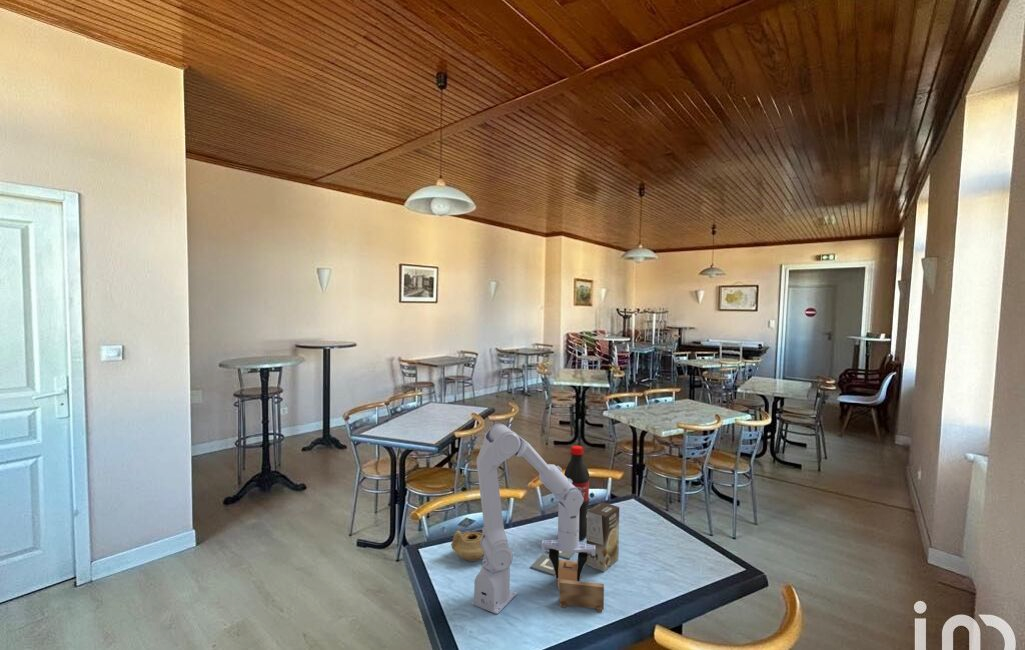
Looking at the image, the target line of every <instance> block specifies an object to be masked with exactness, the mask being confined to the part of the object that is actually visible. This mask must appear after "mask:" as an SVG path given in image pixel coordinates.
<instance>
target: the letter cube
mask: <svg viewBox="0 0 1025 650" xmlns="http://www.w3.org/2000/svg"><path fill="white" fill-rule="evenodd" d="M577 571H578V561H575V560H567V559H566V560H564V559H560V561H559V568H558V579H557V588H558V589H560V579H563V580H573V581H577Z"/></svg>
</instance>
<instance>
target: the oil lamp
mask: <svg viewBox="0 0 1025 650" xmlns="http://www.w3.org/2000/svg"><path fill="white" fill-rule="evenodd" d="M482 535H483V532H480V531H479V532H478V531H467V532H464V533H462V531H460V530H456V531H455V532H454V534H453V538H452V542H451V544H450V545H451V546H450V547H451V549H452V550H453V551H454V553H455V554H456V555H457V556H459V557H460V558H462V559H463V560H464V561H467V562H477V561H480V560H481V559H483V557H484V551H483V550H482V549H481V545H480V542H481V538H482Z"/></svg>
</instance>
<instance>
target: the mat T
mask: <svg viewBox="0 0 1025 650" xmlns="http://www.w3.org/2000/svg"><path fill="white" fill-rule="evenodd" d="M544 552H545V553H546V554H549V550H545V551H544ZM575 554H576V553H566V552H562V551H559V558H563V559H566V560H568V561H571V558H572V557H573V556H574V555H575Z"/></svg>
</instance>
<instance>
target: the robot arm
mask: <svg viewBox="0 0 1025 650" xmlns="http://www.w3.org/2000/svg"><path fill="white" fill-rule="evenodd" d="M513 456H515V457H519V458H520V457H523V458H524V459H525V460H526V461H527V462H528V463H529V464H530V465H531V466H532V467H533V468H534V469H535V470H536V471H537V472H538V475H539V477H538V478H539V481H540V482H541V484H543V486H545V488H547V490H548V491H550V493H552V494H553V496H555V497H554V498H555V499H557V501H558V502H557V503H558V505H557V507H558V508H557V509H558V511H557V512H558V513H557V515H558V516H557V539H549V540H546V539H545V540H544V539H543V540H542V541H541V551H544V552H545V551H546V550H549V553H548V556H549V558H550V560H551V562H552V564H553V566H554V570H555V574H556V576H555V579H556V580H558V568H559V559H560V557H559V551H562V552H566V553H575V554H577V562H578V571H577V581H580V580H581V579H580V578H581V575H582V571H583V569H584V567H585V565H586V561H587V554H591V555H592V556H595V545H590V544H586V543H585V542H583V541H580V540H579V510H580V507H581V505H582V503H583V500H584V498H583V497H582V495H581V494H582V493H581V491H580V490H579V489H578V488H576V487H575V486H574V485H573V484H572V482H573V481H572V480H571V479H570V478H567V477H566V476H565V475H564V473H563V472H562V471H563V469H562V468H561V466H559V465H557V466H556V464H554V463H552V464H551V463H547V462H546V461H545V460H544V459H543V458H542V456H541V455H539V453H538V451H536V450H535V449H534V448H533V447H532V445H531V444H530V443H529V442H528V441H526V440H525V439H524V438H522V437H521V436H520V435H518V434H517V432H515V431H513V430H511V429H510V428H509V427H508V426H507V425H506V424H503V423H495V424H494V425H492V426H491V427H490V428H489V429H488V430H487V431H486V432H485V434H484V437H483V442H482V445H481V447H480V449H479V453H478V455H477V456H476V469H477V478H478V479H477V480H478V486H479V494H480V495H479V496H480V503H481V505H480V506H481V512H482V521H483V527H482V530H481V531H482V532H481V533H483V535H482V538H481V542H480V545H481V549H482V550H483V551H484V557H483V558H482V561H481V563H482V564H481V569H480V570H479V572H478V574H477V575H476V577H474V578H475V579H474V589H473V590H474V593H473V594H474V595H473V596H474V598H473V600H472V601H471V605H474V606H476V607H478V608H480V609H483V610H485V611H488V612H491V613H493V614H496V615H497V614H500V612H501V611H502V610H503V609H505V607H507V605H508V604H509V603H510V602H511V601H512V599H514V598H515V597H516V595H517V592H516V591H514V590H511V589H510V588H511V581H510V580H511V564H512V563H513V559H514V553H513V550H512V549H511V547H510V546H509V542H508V537H507V534H506V530H505V526H504V519H503V511H502V501H501V493H500V492H501V491H500V483H499V476H498V475H499V474H498V467H500V465H501V464H502V463H503V462H506V460H508V459H510V458H511V457H513Z"/></svg>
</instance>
